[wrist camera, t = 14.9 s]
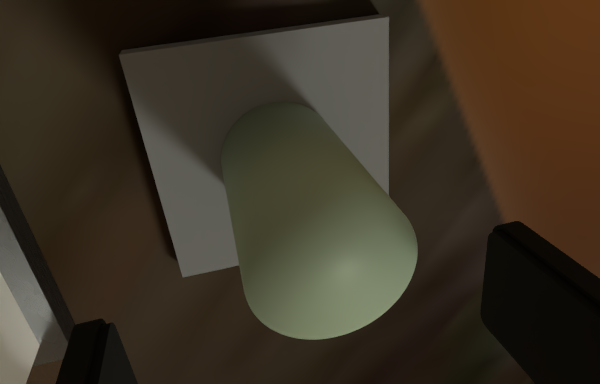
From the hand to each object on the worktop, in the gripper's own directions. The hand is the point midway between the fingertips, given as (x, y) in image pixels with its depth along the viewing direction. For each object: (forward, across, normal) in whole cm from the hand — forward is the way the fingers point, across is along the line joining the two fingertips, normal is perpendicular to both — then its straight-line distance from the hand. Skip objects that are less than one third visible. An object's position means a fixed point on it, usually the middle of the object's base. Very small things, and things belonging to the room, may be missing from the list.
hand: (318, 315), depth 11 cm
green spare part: (+7, -1, -1) cm, 7 cm away
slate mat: (+8, 0, -1) cm, 8 cm away
